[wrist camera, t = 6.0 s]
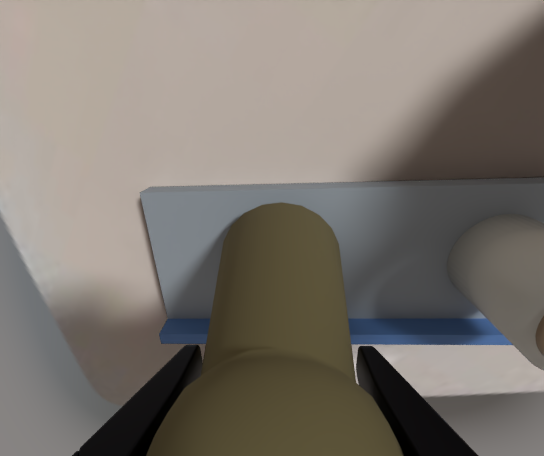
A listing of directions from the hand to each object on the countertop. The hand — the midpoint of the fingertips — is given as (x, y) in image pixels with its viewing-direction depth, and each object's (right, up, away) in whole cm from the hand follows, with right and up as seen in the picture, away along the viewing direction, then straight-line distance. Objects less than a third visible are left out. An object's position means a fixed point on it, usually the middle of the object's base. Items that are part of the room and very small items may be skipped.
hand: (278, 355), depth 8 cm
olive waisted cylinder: (0, +2, +6) cm, 6 cm away
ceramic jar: (+12, +2, +6) cm, 13 cm away
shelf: (+4, +3, +8) cm, 9 cm away
